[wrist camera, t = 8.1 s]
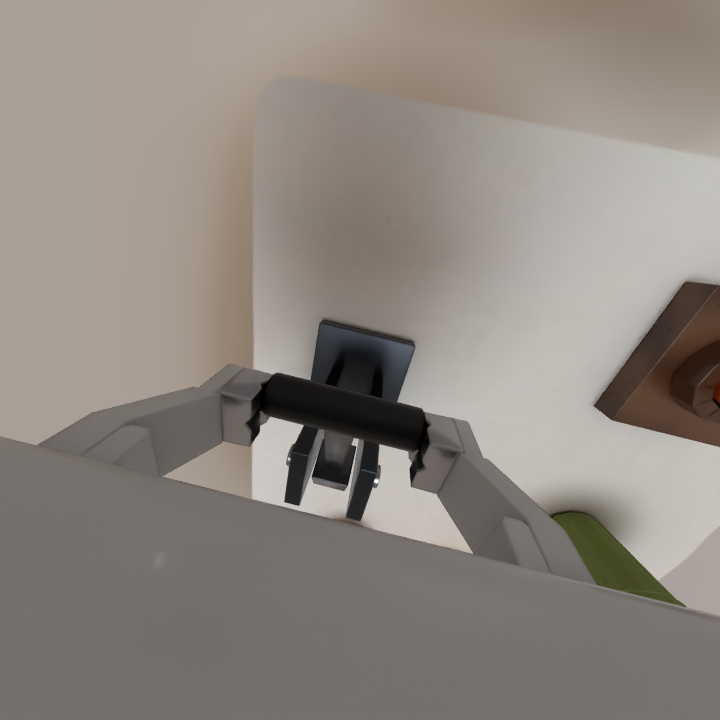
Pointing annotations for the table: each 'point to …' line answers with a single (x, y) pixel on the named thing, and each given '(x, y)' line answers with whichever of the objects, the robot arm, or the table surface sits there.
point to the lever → (341, 422)
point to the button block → (674, 371)
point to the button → (717, 392)
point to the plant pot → (610, 558)
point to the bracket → (359, 374)
